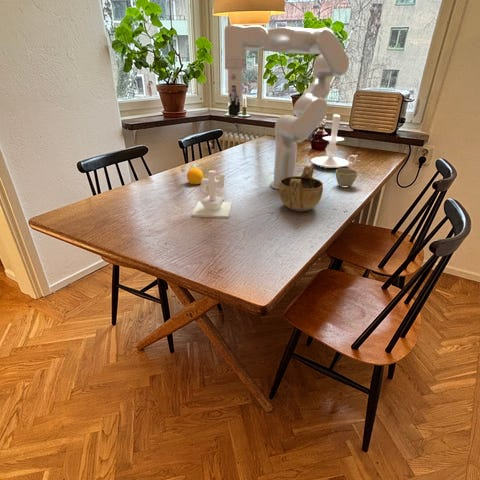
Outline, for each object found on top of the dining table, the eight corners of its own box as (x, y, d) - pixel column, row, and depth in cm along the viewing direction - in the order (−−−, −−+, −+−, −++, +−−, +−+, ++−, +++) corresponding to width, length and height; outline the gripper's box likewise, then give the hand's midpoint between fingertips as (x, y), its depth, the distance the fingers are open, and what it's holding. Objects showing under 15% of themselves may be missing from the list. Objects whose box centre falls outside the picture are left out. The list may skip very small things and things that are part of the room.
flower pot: (356, 184, 157) (359, 169, 153) (353, 190, 149) (356, 175, 146) (335, 181, 161) (337, 167, 157) (331, 187, 153) (333, 172, 149)
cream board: (232, 203, 134) (232, 201, 134) (228, 218, 122) (228, 216, 122) (198, 202, 135) (198, 200, 135) (191, 216, 123) (191, 214, 123)
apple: (201, 186, 152) (200, 170, 149) (185, 185, 154) (183, 169, 150) (205, 181, 159) (205, 166, 156) (190, 180, 161) (189, 165, 157)
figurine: (206, 203, 133) (205, 166, 125) (227, 206, 130) (227, 169, 122) (198, 209, 127) (196, 172, 120) (220, 213, 124) (219, 175, 116)
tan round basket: (312, 223, 119) (317, 183, 112) (269, 214, 125) (271, 176, 118) (325, 202, 137) (330, 167, 129) (286, 195, 143) (289, 161, 136)
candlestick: (348, 176, 168) (358, 119, 155) (304, 168, 181) (310, 114, 167) (360, 167, 183) (370, 114, 170) (319, 160, 195) (325, 110, 182)
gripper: (243, 65, 113) (242, 117, 121) (246, 64, 128) (245, 111, 136) (221, 65, 113) (222, 117, 121) (227, 64, 128) (227, 111, 137)
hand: (234, 114), depth 129 cm, fingers open, 9 cm apart
